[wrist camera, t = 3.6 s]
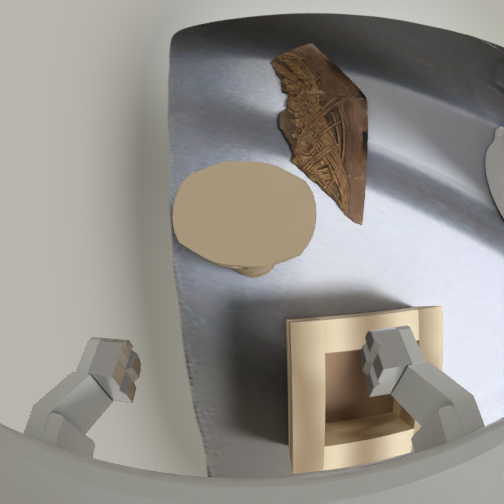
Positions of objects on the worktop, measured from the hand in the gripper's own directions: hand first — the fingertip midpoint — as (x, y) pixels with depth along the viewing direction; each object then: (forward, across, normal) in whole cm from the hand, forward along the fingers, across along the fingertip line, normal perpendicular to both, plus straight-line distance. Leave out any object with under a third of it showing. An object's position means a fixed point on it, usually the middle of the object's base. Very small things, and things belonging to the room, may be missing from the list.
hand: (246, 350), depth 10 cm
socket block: (+8, -9, +17) cm, 21 cm away
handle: (+16, 0, +9) cm, 19 cm away
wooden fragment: (+28, -9, -2) cm, 29 cm away
